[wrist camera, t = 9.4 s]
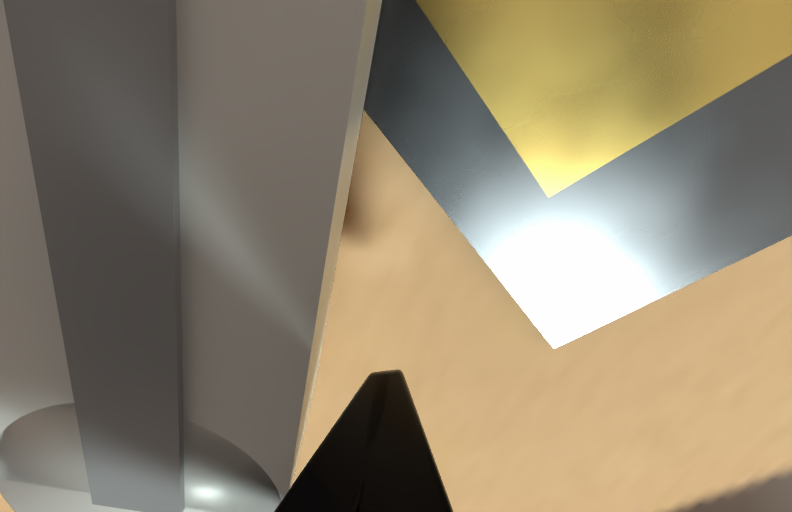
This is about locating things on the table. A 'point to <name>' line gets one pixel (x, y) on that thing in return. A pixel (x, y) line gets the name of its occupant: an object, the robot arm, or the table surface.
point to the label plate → (594, 139)
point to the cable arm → (169, 243)
